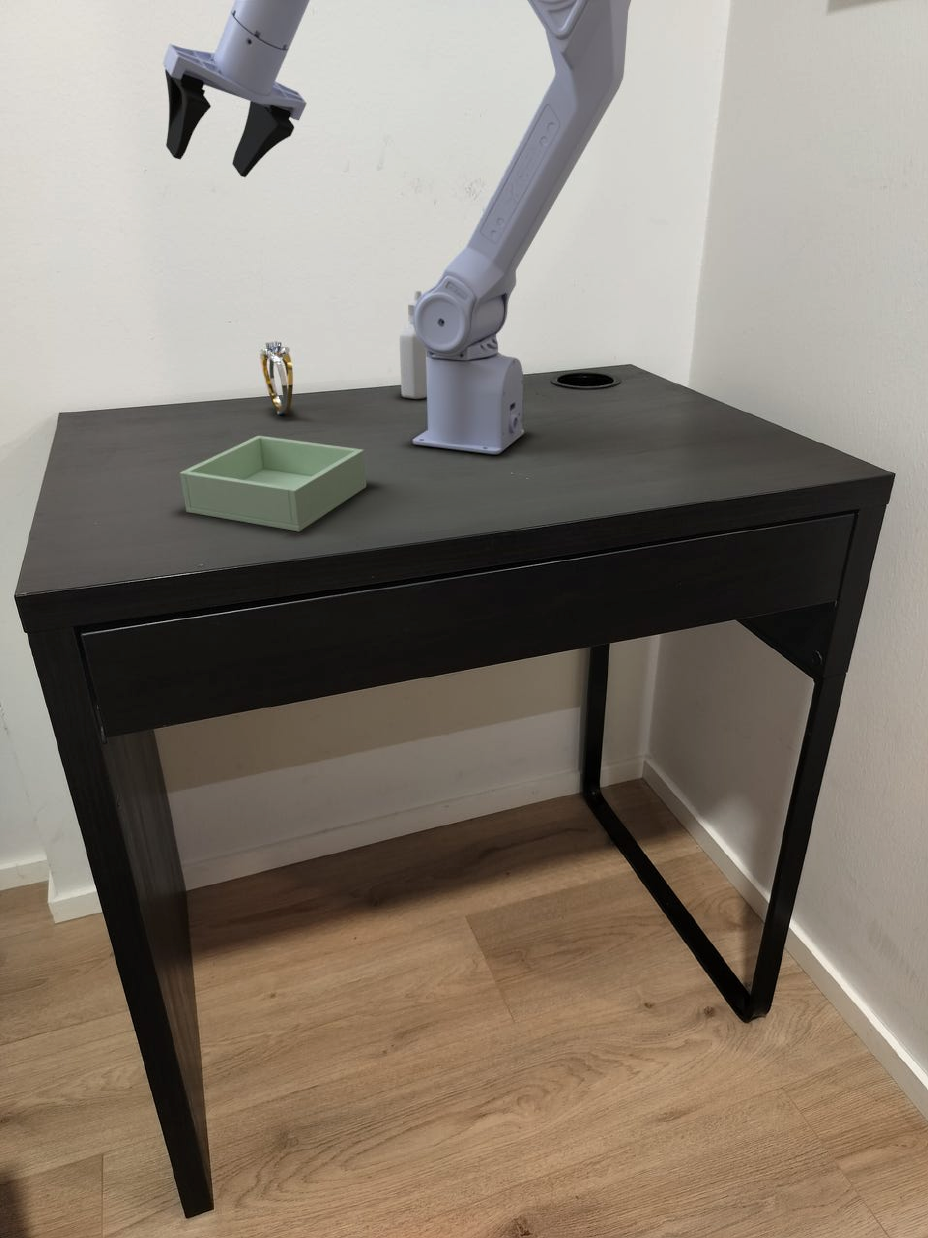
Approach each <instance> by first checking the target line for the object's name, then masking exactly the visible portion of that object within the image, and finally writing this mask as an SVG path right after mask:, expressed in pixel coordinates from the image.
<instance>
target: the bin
mask: <svg viewBox="0 0 928 1238" xmlns="http://www.w3.org/2000/svg"><path fill="white" fill-rule="evenodd" d="M179 477H180V482H181V483H180V484H181V488H182V495H183V500H184V506H185V512H186V513H190V514H196V515H201V516H208V517H212V518H218V519H225V520H230V521H236V522H242V523H247V524H253V525H259V526H263V527H264V526H265V527H271V528H276V529H281V530H288V531H293V532H301V531H302V530H304V529H306V528H307V527H308V526H310V525H311V524H313V523H314V522H316V521H317V520H320V519H321V518H322V517H324V516H325V515H326V514H328V513H329V512H331V511H333V510H334V509H335V508H337V507H339V506H340V505H342V504H343V503H344V502H346V501H347V500H349V499H350V498H352V497H353V496H355V495H356V494H358V493H359V492H361V491H363V490H364V489H365V488H367V478H366V477H367V475H366V460H365V450H364V449H362V448H355V447H347V446H339V445H331V444H323V443H317V442H310V441H309V442H308V441H302V440H294V439H286V438H280V437H272V436H264V435H257V436H255V437H252V438H250V439H248V440H246V441H244V442H242V443H240V444H237V445H235V446H233V447H231V448H229V449H227V450H225V451H222V452H220V453H218V454H216V455H214V456H212V457H210V458H208V459H206V460H203V461H201V462H199V463H197V464H195V465H193V466H191V467H189V468H187V469H185V470H182V471H181V472H179Z"/></svg>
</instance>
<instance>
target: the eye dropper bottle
mask: <svg viewBox="0 0 928 1238" xmlns="http://www.w3.org/2000/svg"><path fill="white" fill-rule="evenodd" d="M422 294H423V293H422V291H421V290H414V295H413V299H412V301H410V302H409V303H407V317H408V318H407V319H408V322H409V323H408V324H407V325H406V326H404V328H403V329H402V330H401V332H400V334H399V361H400V362H399V363H400V364H399V365H400V387H401V388H400V390H401V396H402V397H403V398H405V399H411V400H420V399H427V376H426V348H425V347H424V346H423V345H422V343H421V342H420V341H419V339H418V337H417V335H416V333H415V329H414V324H413V313H414V308H415V305H416V303H417V301H418V299H419V298H420V297H421V295H422Z"/></svg>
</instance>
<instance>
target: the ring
mask: <svg viewBox="0 0 928 1238" xmlns="http://www.w3.org/2000/svg"><path fill="white" fill-rule="evenodd" d="M264 345H265V348H260V349H258V350H259V352H260V353H259V360H260V366H261V370H262V374H263V378H264V382H265V385H266V389H267V391H268V395H269V398H270V400H271V403H272V405H273V407H274V410H275V411H276V415H278V416H281V415H286V414H287V413H289V412H290V409H291V405H292V401H293V400H292V399H293V391H294V390H293V386H294V384H293V383H294V373H293V363H292V359H291V355H290V350H291V349H290V347H288V346H282V342H281V341H271V342H265V344H264ZM281 360H282V361H281ZM282 362H283V363H282ZM274 365H275V366H274ZM274 367H276V369H277V372H278V375H279V378H280V384H281V393H282V398H281V399H282V400H281V399H280V397H279V394H278V391H277V386H276V381H275V371H274V370H275V369H274ZM284 368H285V369H284ZM285 371H286V373H285Z"/></svg>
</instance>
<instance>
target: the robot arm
mask: <svg viewBox="0 0 928 1238" xmlns="http://www.w3.org/2000/svg"><path fill="white" fill-rule="evenodd" d="M310 1H311V0H235V1H234V2H233V5H232V8H231V10H230V12H229V16H228V18H227V21H226V24H225V26H224V29H223V32H222V34H221V37H220V39H219V42H218V44H217V47H216V49H215V51H214V52H209V51H203V50H197V49H190V48H185V47H181V46H177V45H175V44H171V43H169V44H168V47H167V50H166V53H165V55H164V58H163V61H162V65H163V68H164V73H165V80H166V85H167V93H168V94H167V95H168V127H167V136H166V144H165V146H166V148H167V150H168V151H169V153H170V154H171V156H172V157H173V158H174V159H177V160H181V159H183V157H184V155H185V153H186V152H187V148H188V146H189V144H190V141H191V139H192V136H193V134H194V132H195V130H196V128H197V127H198V125H199V123H200V121H201V120H202V118H203V117H204V116H205V115H206V113H207V112H208V111H209V110H210V109H211V107H212V106H211V104H210V102H209V101H208V99H207V98H206V97H205V91H206V89H203V88H204V86H205V87H209V88H212V89H215V90H217V91H221V92H223V93H227V94H229V95H232V96H235V97H237V98H240V99H243V100H246V101H249V107H248V112H247V116H246V121H245V124H244V128H243V132H242V135H241V137H240V140H239V141H238V145H237V147H236V149H235V152H234V155H233V159H232V166H233V168H234V169H235V170H236V172H237V174H239V176H240V177H243V178H246V177H247V176H248V175H249V174H250V173H251V172H252V170H253V169H254V167H255V166H256V165H257V164H258V163H259V162H260V161H261V159H262V158H263V157H264V156H265V155H266V154H267V153H268V152H269V151H271V150H272V149H273V148H274V147H276V146H277V145H278V144H279V143H281V142H283V141H284V140H286V139H288V138H290V137H291V136H292V134H293V133H294V130H295V126H294V124H293V122H292V121H291V120H290V118H291V119H292V120H294V121H299V122H300V120H301V117H302V115H303V113H304V111H305V108H306V106H307V102H306V101H305V99H304V98H303V97H302V95H301V94H300V93H299V92H298V90H297V91H296V90H294V89H292V88H290V87H287V86H286V85H284V84H282V83H279V82H278V81H277V78H278V77H279V76H278V75H279V73H280V71H281V68H282V67H283V64H284V61H285V59H286V57H287V54H288V52H289V50H290V47H291V45H292V43H293V40H294V38H295V36H296V33H297V31H298V29H299V27H300V24H301V22H302V19H303V17H304V15H305V13H306V10H307V8H308V5H309V3H310ZM527 2H528V4H529V6H530V7H531V9H532V10H533V12H534V14H535V15H536V17H537V19H538V20H539V22H540V24H541V25H542V27H543V29H544V31H545V35H546V39H547V43H548V48H549V51H550V55H551V59H552V62H553V66H554V76H553V78H552V80H551V82H550V84H549V86H548V87H547V89H546V92H545V93H544V96H542V99H541V101H540V103H539V104H538V107H537V109H536V111H535V112H534V115H533V117H532V119H531V120H530V122H529V124H528V126H527V128H526V130H525V132H524V134H523V136H522V138H521V140H520V141H519V143H518V145H517V147H516V149H515V151H514V153H513V155H512V157H511V159H510V160H509V163H508V165H507V167H506V169H505V170H504V172H503V174H502V175H501V178H500V180H499V182H498V184H497V186H496V187H495V190H494V192H492V195H491V197H490V199H489V201H488V203H487V205H486V207H485V209H484V210H483V212H482V215H481V217H480V218H479V220H478V222H477V224H476V225H475V228H474V230H473V231H472V234H471V236H470V238H469V240H468V242H467V244H466V245H465V246H464V248H463V249H462V250H461V251H460V252H459V254H458V255H456V257H454V259H453V260H452V261H451V262H450V263H449V264H448V265H447V266H446V267H445V269H444V270H443V272H442V273H441V276H440V278H439V279H438V281H437V282H436V284H434V285H432V287H430V288H429V289H427V290H426V291H424V292H423V293H421V294H422V295H421V297H420V298H419V299H418V301H417V303H416V305H415V308H414V313H413V324H414V329H415V333H416V335H417V337H418V339H419V341H420V342H421V343H422V345H423V346H424V347H425V348H426V376H427V397H426V410H427V413H426V415H427V429H426V430H425V431H424V432H422V433H420V434H419V435H417V436H416V437H414V438H413V439H412V444H414V445H417V446H423V447H432V448H440V449H449V450H456V451H463V452H464V451H465V452H471V453H478V454H479V453H480V454H486V455H500V454H501V453H502V452H503V451H504V450H506V449H507V448H508V447H510V445H512V444H513V443H514V442H515V441H517V440H518V439H519V438H520V437H522V436H523V435H524V434H525V430H524V429H523V401H524V400H523V398H524V397H523V395H524V393H523V392H524V372H523V366H522V362H521V361H520V359H518V358H516V357H514V356H507V355H504V354H502V353H500V352H499V343H498V340H497V334H498V333H500V331H501V330H502V329H503V327H504V326H505V323H506V321H507V317H508V310H509V309H508V308H509V301H510V297H511V295H512V292H513V291H514V289H515V288H516V286H517V269H518V267H519V266H520V264H521V262H522V260H523V259H524V257H525V255H526V253H527V251H528V250H529V248H530V247H531V244H532V242H533V241H534V239H535V238H536V236H537V234H538V232H539V230H540V229H541V227H542V225H543V223H544V221H545V220H546V218H547V216H548V215H549V213H550V211H551V210H552V207H553V206H554V205H555V203H556V201H557V198H558V197H559V195H560V194H561V191H562V190H563V188H564V186H565V184H566V183H567V181H568V179H569V177H570V176H571V174H572V173H573V170H574V169H575V167H576V165H577V163H578V162H579V160H580V158H581V156H582V155H583V152H584V151H585V150H586V147H587V146H588V144H589V142H590V140H591V139H592V137H593V136H594V133H595V131H596V130H597V128H598V126H599V124H600V123H601V122H602V119H603V117H604V116H605V115H606V112H607V111H608V109H609V107H610V105H611V104H612V102H613V100H614V99H615V97H616V95H617V93H618V92H619V89H620V87H621V85H622V82H623V80H624V75H625V64H626V63H625V62H626V51H627V49H626V48H627V36H628V35H627V34H628V22H629V20H628V19H629V10H630V6H631V3H632V0H527Z"/></svg>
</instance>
